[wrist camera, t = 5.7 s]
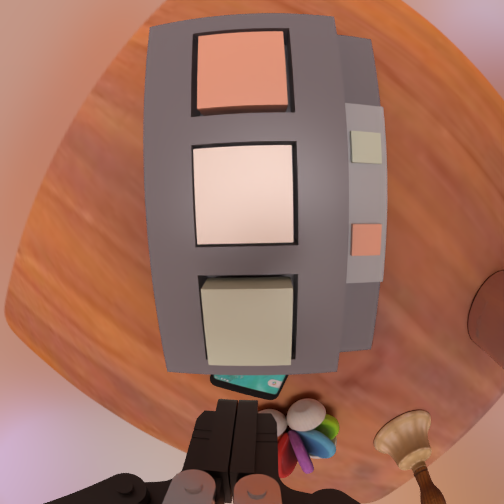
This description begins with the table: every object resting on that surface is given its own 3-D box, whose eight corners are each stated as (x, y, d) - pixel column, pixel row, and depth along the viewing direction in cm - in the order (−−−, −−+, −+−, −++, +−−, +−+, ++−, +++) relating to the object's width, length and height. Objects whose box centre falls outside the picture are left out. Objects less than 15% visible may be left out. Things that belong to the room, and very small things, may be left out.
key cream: (288, 150, 19) (291, 145, 17) (289, 235, 21) (293, 242, 18) (201, 153, 20) (193, 149, 17) (205, 237, 21) (197, 244, 18)
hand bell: (405, 452, 30) (439, 534, 14) (361, 449, 29) (389, 547, 14) (441, 412, 28) (492, 494, 12) (398, 406, 27) (449, 508, 12)
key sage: (289, 276, 21) (293, 288, 19) (288, 347, 23) (290, 365, 20) (207, 277, 21) (200, 289, 19) (213, 348, 23) (208, 364, 20)
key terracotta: (281, 46, 19) (283, 31, 16) (285, 113, 20) (287, 104, 17) (204, 50, 19) (198, 36, 16) (204, 117, 20) (197, 108, 18)
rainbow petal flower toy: (237, 409, 28) (231, 459, 21) (326, 384, 27) (340, 434, 20) (264, 452, 30) (263, 497, 22) (341, 431, 28) (353, 477, 21)
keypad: (367, 43, 19) (382, 24, 16) (367, 344, 26) (381, 366, 22) (164, 46, 20) (149, 27, 16) (179, 348, 26) (167, 371, 22)
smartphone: (335, 267, 24) (275, 402, 27) (333, 265, 24) (275, 397, 28) (253, 241, 24) (207, 384, 27) (253, 239, 24) (208, 380, 28)
